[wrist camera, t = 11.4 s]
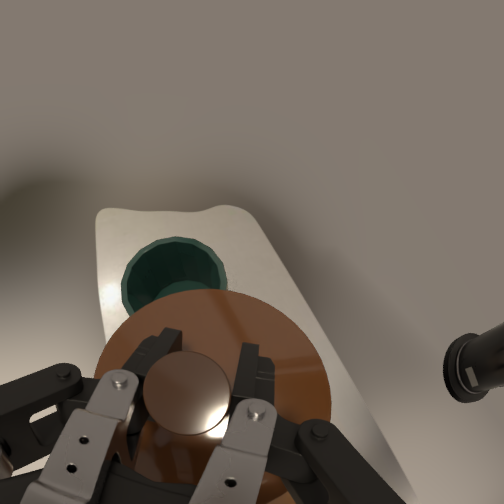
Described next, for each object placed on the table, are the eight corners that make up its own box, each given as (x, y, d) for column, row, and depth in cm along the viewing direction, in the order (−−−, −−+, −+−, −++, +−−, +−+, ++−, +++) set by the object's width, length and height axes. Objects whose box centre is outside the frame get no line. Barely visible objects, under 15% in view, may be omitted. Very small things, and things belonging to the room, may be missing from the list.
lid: (333, 313, 17) (388, 244, 11) (307, 519, 11) (358, 576, 4) (131, 279, 18) (84, 199, 11) (83, 470, 11) (-2, 485, 5)
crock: (234, 285, 42) (235, 244, 33) (220, 364, 36) (215, 345, 27) (158, 272, 43) (139, 230, 34) (137, 346, 37) (107, 321, 28)
